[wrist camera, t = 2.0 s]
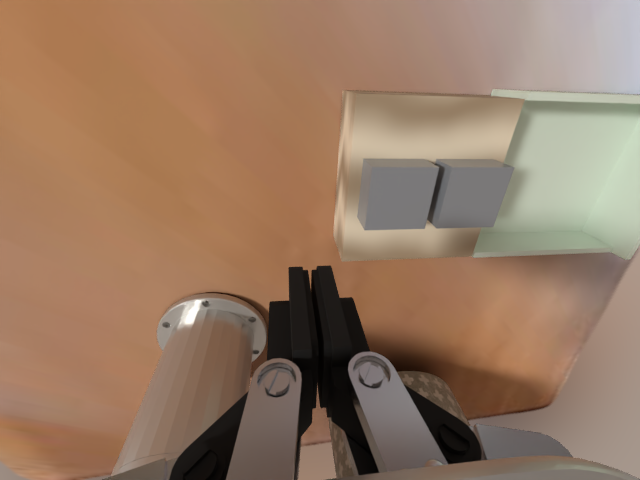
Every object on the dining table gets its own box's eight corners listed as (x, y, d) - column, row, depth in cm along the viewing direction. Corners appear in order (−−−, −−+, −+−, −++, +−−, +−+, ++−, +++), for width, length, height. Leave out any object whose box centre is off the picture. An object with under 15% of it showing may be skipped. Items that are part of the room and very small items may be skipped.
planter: (464, 361, 45) (562, 512, 30) (409, 430, 54) (463, 578, 38) (352, 344, 40) (399, 515, 25) (310, 424, 49) (325, 590, 33)
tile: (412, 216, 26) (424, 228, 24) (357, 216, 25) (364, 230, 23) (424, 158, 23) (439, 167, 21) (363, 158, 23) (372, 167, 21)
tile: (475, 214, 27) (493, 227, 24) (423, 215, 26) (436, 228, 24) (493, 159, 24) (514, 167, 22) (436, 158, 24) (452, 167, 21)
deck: (446, 232, 33) (471, 256, 29) (333, 235, 32) (341, 261, 27) (484, 95, 26) (524, 99, 22) (342, 90, 25) (356, 93, 21)
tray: (578, 232, 36) (630, 259, 30) (450, 236, 34) (482, 266, 28) (651, 94, 28) (734, 99, 23) (492, 88, 26) (545, 92, 21)
